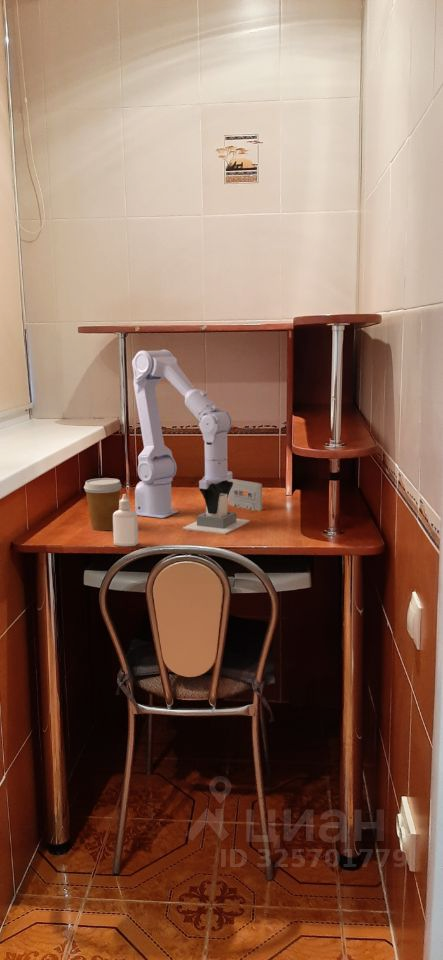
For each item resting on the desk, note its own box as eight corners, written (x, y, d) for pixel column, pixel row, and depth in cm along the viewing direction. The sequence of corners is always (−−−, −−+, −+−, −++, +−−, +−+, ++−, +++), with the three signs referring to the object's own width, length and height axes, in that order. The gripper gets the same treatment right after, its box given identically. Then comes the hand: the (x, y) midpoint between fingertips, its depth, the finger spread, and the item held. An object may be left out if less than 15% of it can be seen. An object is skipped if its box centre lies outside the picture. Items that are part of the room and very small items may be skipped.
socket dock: (182, 529, 194) (182, 517, 194) (208, 517, 207) (208, 506, 206) (225, 534, 189) (225, 522, 188) (249, 521, 201) (249, 510, 201)
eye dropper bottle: (127, 548, 177) (125, 497, 175) (111, 544, 181) (109, 494, 179) (141, 544, 181) (139, 494, 178) (124, 540, 184) (123, 491, 182)
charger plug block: (206, 518, 196) (205, 491, 195) (213, 515, 200) (213, 488, 199) (220, 520, 195) (220, 493, 193) (227, 516, 198) (227, 490, 197)
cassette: (263, 510, 214) (263, 483, 212) (259, 511, 212) (259, 484, 211) (231, 504, 222) (231, 478, 220) (226, 505, 220) (226, 479, 219)
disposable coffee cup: (106, 534, 190) (104, 486, 188) (77, 529, 195) (75, 482, 193) (131, 525, 198) (129, 480, 196) (102, 521, 203) (101, 476, 201)
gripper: (216, 464, 186) (217, 519, 189) (242, 455, 199) (243, 507, 202) (191, 462, 189) (192, 516, 192) (218, 454, 202) (219, 504, 205)
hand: (216, 511), depth 197 cm, fingers closed on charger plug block, 4 cm apart
